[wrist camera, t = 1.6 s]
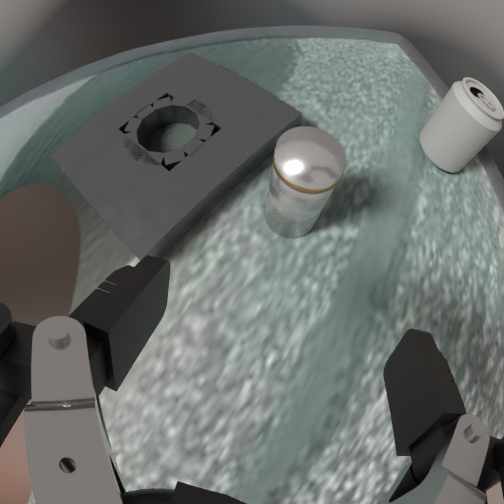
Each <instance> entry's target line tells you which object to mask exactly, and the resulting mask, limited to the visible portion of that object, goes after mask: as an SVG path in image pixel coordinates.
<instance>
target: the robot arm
mask: <svg viewBox="0 0 504 504" xmlns="http://www.w3.org/2000/svg"><path fill="white" fill-rule="evenodd" d="M169 277H170V262H169V261H165V260H162V259H159V258H156V257H153V256H149V255H146V256H145V257H144V258H143V259H142V260H141V261H140V262H139V263H138V264H137V265H136V266H135V267H132V266H129V265H127V266H125V267H123V268H120V269H118V270H116V271H114V272H113V273H112V274H111V275H110V276H109V277H108V278H107V279H106V280H105V282H102V283H101V284H100V285H99V286H98V288H97V290H96V289H95V290H94V291H93V292H92V293H91V294H90V295H89V296H88V297H87V298H86V299H85V300H84V301H83V302H82V303H81V304H80V305H79V306H78V307H77V308H76V309H75V310H74V311H73V312H72V313H71V315H70V316H69V317H65V316H56V317H52V318H48V319H46V320H44V321H43V322H41V323H40V324H39V325H38V326H32V325H28V324H23V323H19V322H14V321H13V319H12V316H11V312H10V310H9V308H8V307H7V306H6V305H4V304H2V303H0V447H1V445H2V443H3V442H4V440H5V438H6V437H7V435H8V433H9V432H10V430H11V428H12V426H13V425H14V423H15V422H16V420H17V419H18V417H19V415H20V414H21V412H22V411H23V409H24V408H25V409H24V430H25V441H26V451H27V458H28V465H29V472H30V478H31V484H32V489H33V494H34V499H35V503H36V504H246V503H244V502H241V501H239V500H237V499H235V498H232V497H230V496H228V495H225V494H221V493H217V492H213V491H209V490H206V489H202V488H198V487H195V486H191V485H188V484H185V483H182V482H179V481H178V482H177V484H176V487H175V490H173V489H154V488H152V489H140V490H135V491H129V492H126V489H125V486H124V484H123V481H122V478H121V475H120V472H119V469H118V466H117V463H116V460H115V457H114V454H113V451H112V448H111V444H110V440H109V437H108V433H107V429H106V425H105V421H104V416H103V412H102V408H101V403H100V398H99V395H100V393H101V392H102V390H103V389H104V387H105V386H106V387H108V388H110V389H112V390H115V391H117V390H118V388H119V387H120V385H121V383H122V382H123V380H124V378H125V377H126V375H127V374H128V372H129V370H130V369H131V367H132V365H133V364H134V362H135V360H136V359H137V357H138V356H139V354H140V352H141V351H142V349H143V348H144V346H145V344H146V343H147V341H148V340H149V338H150V336H151V335H152V333H153V332H154V330H155V329H156V327H157V325H158V324H159V322H160V321H161V319H162V317H163V315H164V312H165V309H166V305H167V298H168V287H169ZM450 372H451V370H450V368H449V365H448V363H447V361H446V359H445V358H444V356H443V355H442V354H441V353H440V351H439V350H438V348H437V346H436V344H435V341H434V339H433V337H432V335H431V334H430V333H429V332H425V331H421V330H416V329H409V330H408V331H407V332H406V333H405V334H404V336H403V337H402V339H401V341H400V342H399V344H398V345H397V347H396V348H395V350H394V351H393V353H392V354H391V356H390V357H389V359H388V360H387V362H386V365H385V368H384V382H385V387H386V392H387V397H388V402H389V408H390V413H391V419H392V425H393V432H394V438H395V445H396V452H397V456H411V461H410V462H408V463H407V464H406V465H405V467H404V468H403V470H402V472H401V473H400V475H399V477H398V478H397V480H396V481H395V483H394V484H393V486H392V487H391V489H390V490H389V492H388V493H387V495H386V496H385V498H384V499H383V501H382V502H381V503H380V504H488V503H487V496H486V491H487V490H488V489H490V488H491V487H493V486H494V485H496V484H497V483H499V482H500V481H501V486H502V492H503V498H504V437H503V438H502V439H497V438H494V437H491V436H489V432H488V429H487V427H486V425H485V424H484V423H483V421H482V420H481V419H479V418H478V417H477V416H475V415H472V414H467V413H466V410H465V407H464V404H463V401H462V398H461V396H460V393H459V390H458V388H457V385H456V383H454V381H455V380H454V378H453V375H452V373H450ZM30 399H32V402H31V405H26V404H27V403H28V401H29V400H30Z"/></svg>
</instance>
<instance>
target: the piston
mask: <svg viewBox="0 0 504 504" xmlns="http://www.w3.org/2000/svg"><path fill="white" fill-rule="evenodd" d="M345 167H346V154H345V151H344V149H343V147H342V145H341V144H340V143H339V142H338V140H337V139H336V138H335V137H333V136H332V135H331V134H329V133H327V132H326V131H324V130H321V129H318V128H315V127H308V126H301V127H295V128H292V129H290V130H288V131H286V132H285V133H283V134H282V135H281V136H280V138H279V139H278V141H277V144H276V148H275V151H274V156H273V166H272V172H271V177H270V183H269V189H268V195H267V200H266V206H265V219H266V222H267V224H268V226H269V227H270V228H271V230H273V231H274V232H275V233H276V234H278V235H280V236H282V237H286V238H298V237H301V236H304V235H305V234H307V233H308V232H309V231H310V230H311V229H312V227H313V226H314V224H315V222H316V220H317V218H318V217H319V215H320V213H321V211H322V210H323V208H324V206H325V204H326V202H327V201H328V199H329V197H330V195H331V193H332V192H333V190H334V188H335V186H336V185H337V183H338V182H339V180H340V178H341V177H342V175H343V172H344V169H345Z"/></svg>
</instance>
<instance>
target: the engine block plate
mask: <svg viewBox="0 0 504 504" xmlns="http://www.w3.org/2000/svg"><path fill="white" fill-rule="evenodd" d="M301 115H302V113H301V112H299V111H298V110H296V109H294V108H293V107H291V106H290V105H288V104H286V103H285V102H283V101H281V100H280V99H278V98H277V97H275V96H273V95H272V94H270V93H268V92H266V91H265V90H263V89H261V88H259V87H258V86H256V85H254V84H252V83H251V82H249V81H247V80H245V79H243V78H242V77H240V76H238V75H236V74H234V73H232V72H230V71H228V70H226V69H224V68H222V67H220V66H218V65H216V64H214V63H212V62H210V61H208V60H206V59H204V58H202V57H200V56H198V55H196V54H194V53H191V52H190V53H188V54H186V55H184V56H183V57H181V58H179V59H178V60H176V61H174V62H172V63H171V64H169V65H168V66H166V67H164V68H163V69H161V70H159V71H158V72H156V73H155V74H153V75H152V76H150V77H149V78H147V79H146V80H144V81H143V82H141V83H140V84H138V85H137V86H135V87H134V88H132V89H131V90H130V91H128V92H127V93H125V94H124V95H123V96H121V97H120V98H119V99H117V100H116V101H114V102H113V103H112V104H111V105H109V106H108V107H107V108H105V109H104V110H103V111H101V112H100V113H99V114H98V115H96V116H95V117H94V118H93V119H92V120H90V121H89V122H88V123H87V124H86V125H84V126H83V127H82V128H81V129H80V130H79V131H77V132H76V133H75V134H74V135H73V136H72V137H71V138H69V139H68V140H67V141H66V142H65V143H64V144H63V145H62V146H61V147H60V148H59V149H58V150H56V151H55V152H54V153H53V154H52V155H51V157H52V158H53V159H54V161H55V162H56V163H57V164H58V166H59V167H60V168H61V169H62V171H63V172H64V173H65V175H66V176H67V177H68V178H69V180H70V181H71V182H72V183H73V184H74V186H75V187H76V188H77V189H78V191H79V192H80V193H81V194H82V195H83V197H84V198H85V199H86V200H87V201H88V203H89V204H90V205H91V206H92V207H93V208H94V210H95V211H96V212H97V213H98V214H99V215H100V217H101V218H102V219H103V220H104V221H105V222H106V223H107V224H108V226H109V227H110V228H111V229H112V230H113V231H114V232H115V233H116V235H117V236H118V237H119V238H120V239H121V240H122V241H123V242H124V243H125V244H126V246H127V247H128V248H129V249H130V250H131V251H132V252H133V253H134V254H135V255H136V256H137V257H138V258H139V259H140V261H141V260H142V259H143V258H144V257H145V256H146V255H149V256H153V257H156V258H159V259H161V258H162V256H163V255H164V254H165V253H166V252H167V251H168V250H169V249H170V248H171V247H172V246H173V245H174V244H175V243H176V242H177V241H178V240H179V239H180V238H181V237H182V236H183V235H184V234H185V233H187V232H188V231H189V230H190V229H191V228H192V227H193V226H194V225H195V224H196V223H197V222H198V221H199V220H200V219H201V218H202V217H203V216H204V215H205V214H206V213H207V212H208V211H209V210H210V209H211V208H212V207H213V206H214V205H216V204H217V203H218V202H219V201H220V200H221V199H222V198H223V197H224V196H225V195H226V194H227V193H228V192H229V191H230V190H232V189H233V188H234V187H235V186H236V185H237V184H238V183H239V182H240V181H241V180H242V179H244V178H245V177H246V176H247V175H248V174H249V173H250V172H251V171H252V170H253V169H255V168H256V167H257V166H258V165H259V164H260V163H261V162H262V161H263V160H265V159H266V158H267V157H268V156H269V155H270V154H271V153H273V152H274V151H275V148H276V144H277V141H278V139H279V138H280V136H281V135H282V134H283V133H285V132H286V131H288V130H290V129H292V128H295V127H299V123H300V119H301ZM174 122H176V123H185V124H190V125H191V126H193V127H194V128H196V129H197V133H196V135H195V137H194V138H193V139H192V140H191V141H189V142H188V143H187V144H186V145H184V146H183V147H182V148H179V149H176V150H172V151H169V152H166V153H160V152H152V151H147V150H146V149H145V148H144V145H145V143H146V141H147V139H148V136H149V135H150V134H152V133H153V132H154V131H155V130H157V129H158V128H159V127H161V126H164V125H167V124H171V123H174Z"/></svg>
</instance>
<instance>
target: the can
mask: <svg viewBox="0 0 504 504" xmlns="http://www.w3.org/2000/svg"><path fill="white" fill-rule="evenodd" d="M503 118H504V111H503V108H502V106H501V104H500V102H499V101H498V99H497V98H496V97H495V95H493V93H492V92H491V91H490V90H489V89H488V88H486V87H485V86H484V85H483V84H481V83H480V82H478V81H477V80H475V79H472V78H468V77H467V78H464V79H463V81H458V82H455V83H454V84H453V85H452V87H451V88H450V90H449V91H448V93H447V94H446V96H445V97H444V99H443V100H442V102H441V103H440V105H439V106H438V107H437V109H436V110H435V112H434V113H433V115H432V116H431V117H430V119H429V120H428V122H427V123H426V125H425V126H424V127H423V129H422V130H421V132H420V142H421V146H422V148H423V151H424V153H425V155H426V156H427V158H428V159H429V160H430V161H431V162H432V163H433V164H434V165H435V166H437V167H438V168H440V169H442V170H445V171H448V172H452V173H454V172H459V171H460V170H461V169H462V168H463V167H464V166H465V165H466V164H467V163H468V162H469V161H470V160H471V159H472V158H473V157H474V156H475V155H476V154H477V153H478V152H479V151H480V150H481V149H482V148H483V147H484V146H485V145H486V144H487V143H488V142H489V141H490V140H491V139H492V138H493V137H494V136H495V135H496V134H497V132H498V131H499V130H500V129H501V127H502V121H501V120H502V119H503Z"/></svg>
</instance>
